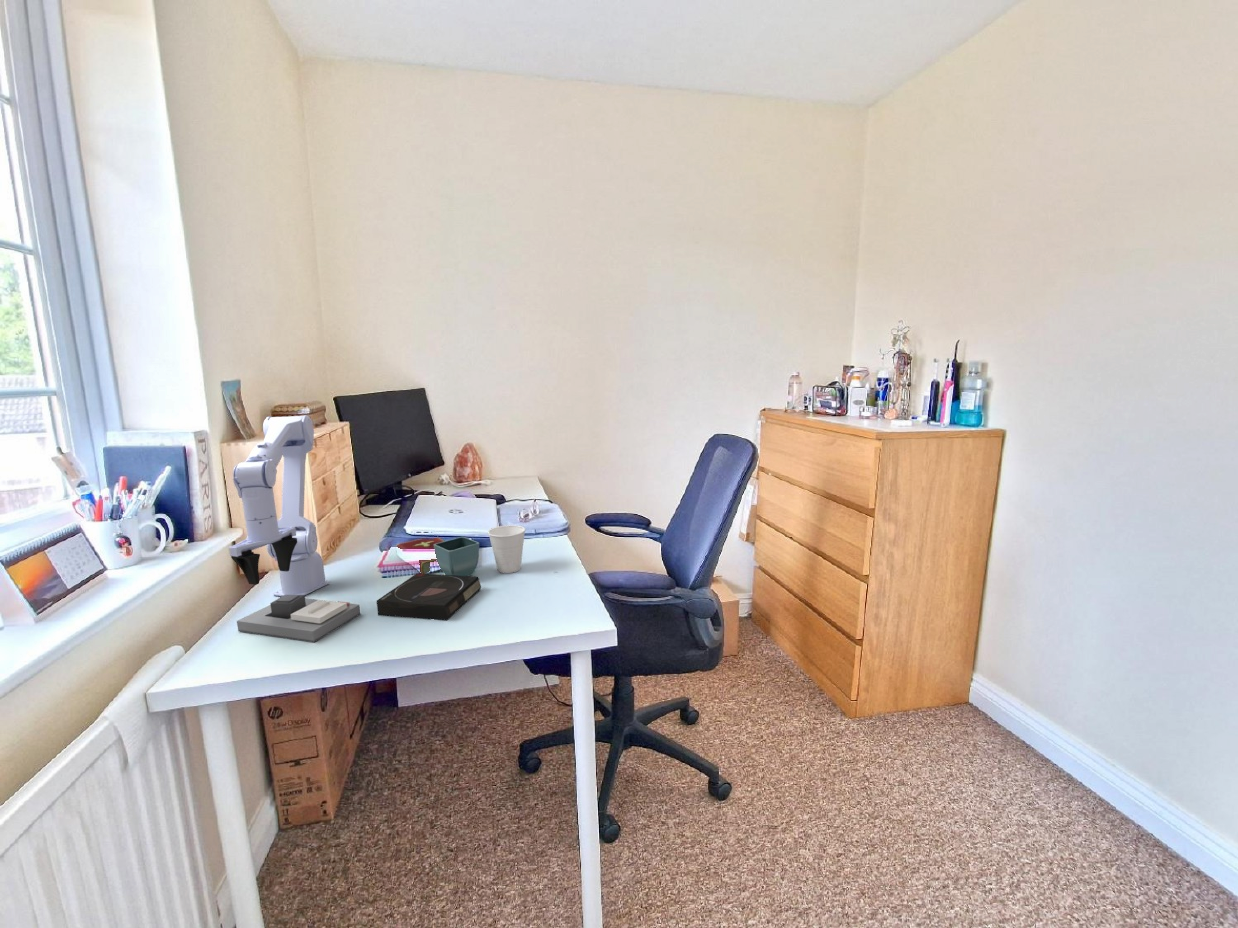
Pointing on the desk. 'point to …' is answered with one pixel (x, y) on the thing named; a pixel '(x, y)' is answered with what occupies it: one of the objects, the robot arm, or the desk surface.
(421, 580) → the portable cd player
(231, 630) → the desk surface
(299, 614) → the shutter
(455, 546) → the flower pot
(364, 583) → the desk surface
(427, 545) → the hardcover book
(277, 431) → the robot arm
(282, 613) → the plug
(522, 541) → the cup
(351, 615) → the socket plate
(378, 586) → the desk surface
